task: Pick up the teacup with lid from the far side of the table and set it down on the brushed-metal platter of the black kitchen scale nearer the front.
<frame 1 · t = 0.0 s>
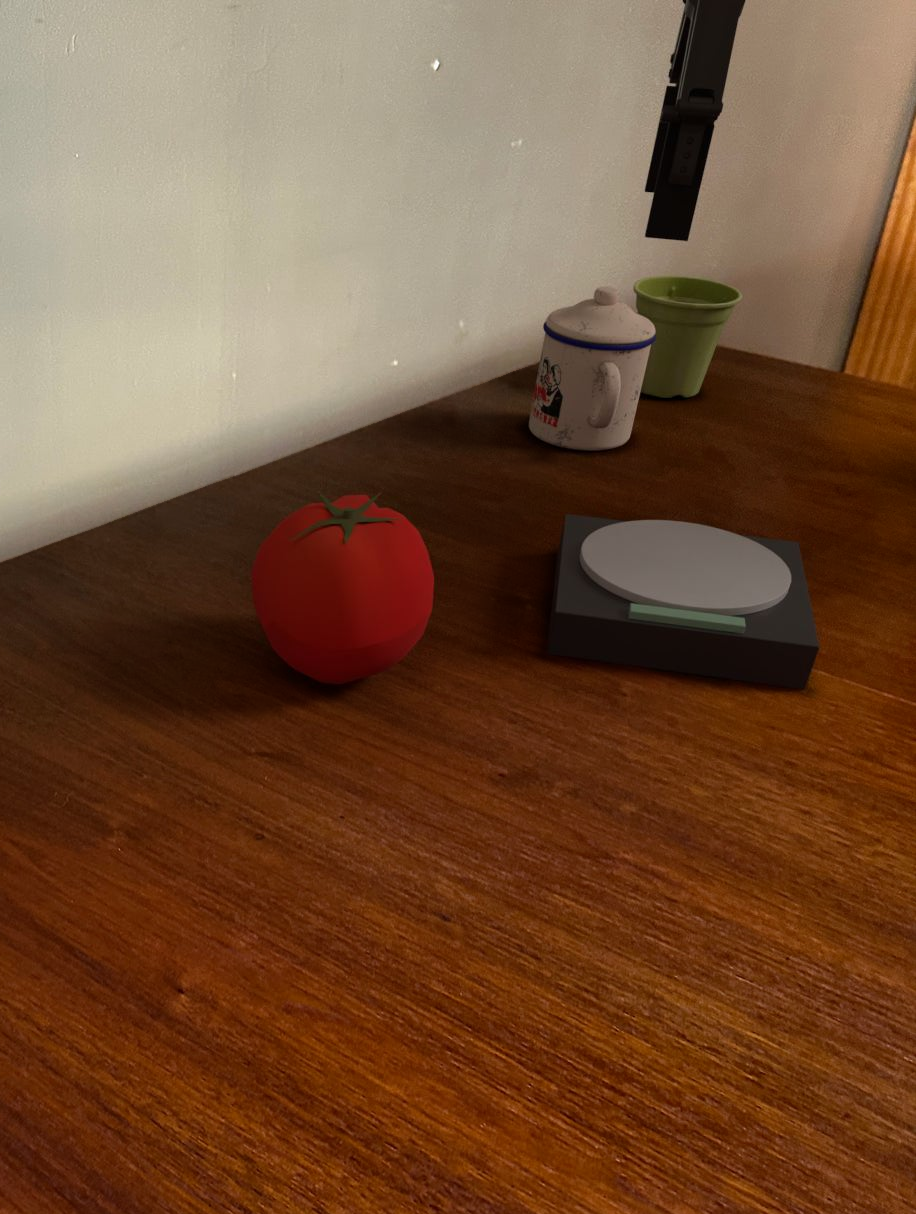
hand: (664, 214, 97), 20 cm above the table, tool pointing down, fingers open, 13 cm apart
scale: (671, 616, 96), on the table
teacup with lid: (581, 442, 121), on the table
tomato: (334, 664, 90), on the table
plant pot: (663, 391, 132), on the table
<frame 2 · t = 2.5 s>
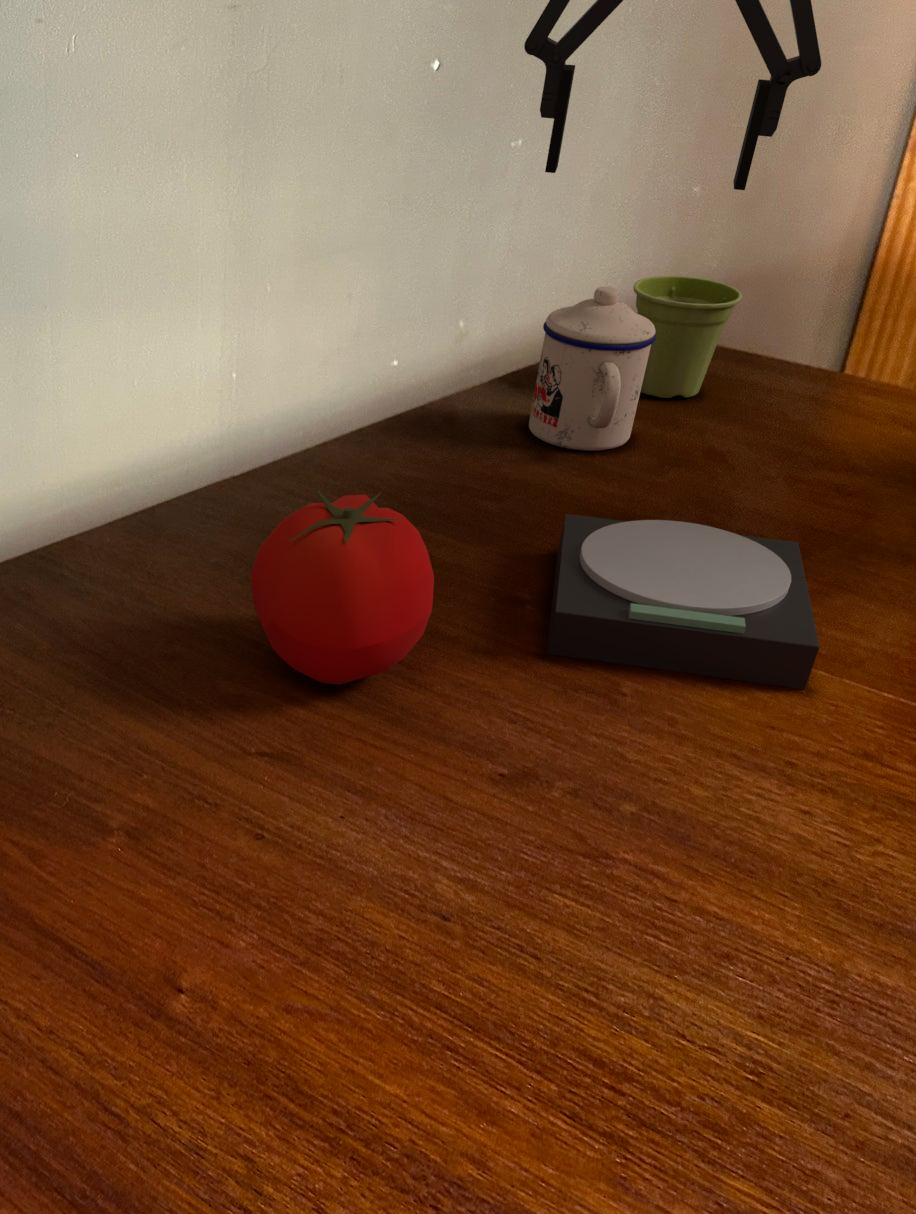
hand: (643, 178, 105), 21 cm above the table, tool pointing down, fingers open, 13 cm apart
nothing on the table moved.
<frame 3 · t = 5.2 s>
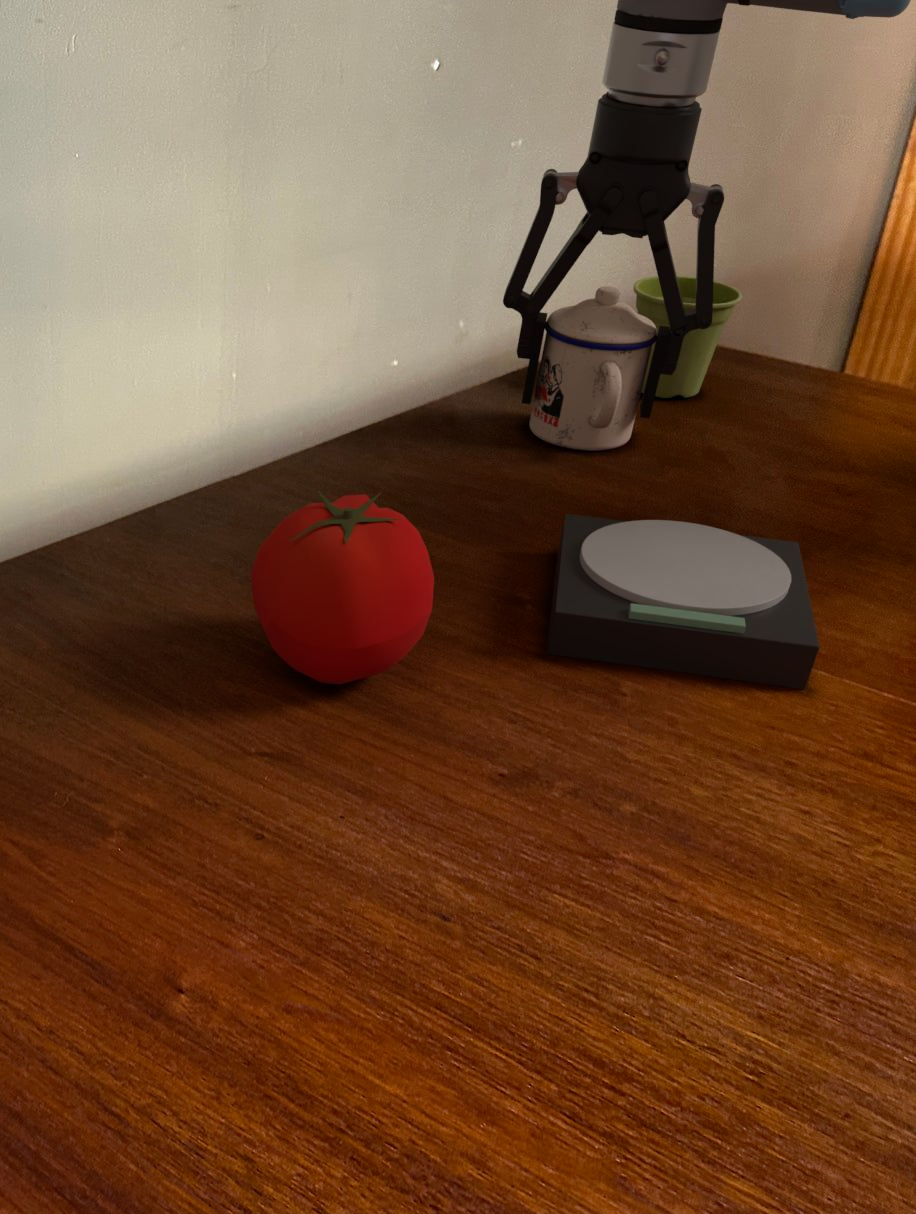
hand: (585, 405, 119), 3 cm above the table, tool pointing down, fingers closed on teacup with lid, 9 cm apart
teacup with lid: (582, 442, 121), on the table, touching gripper
everything else where it was.
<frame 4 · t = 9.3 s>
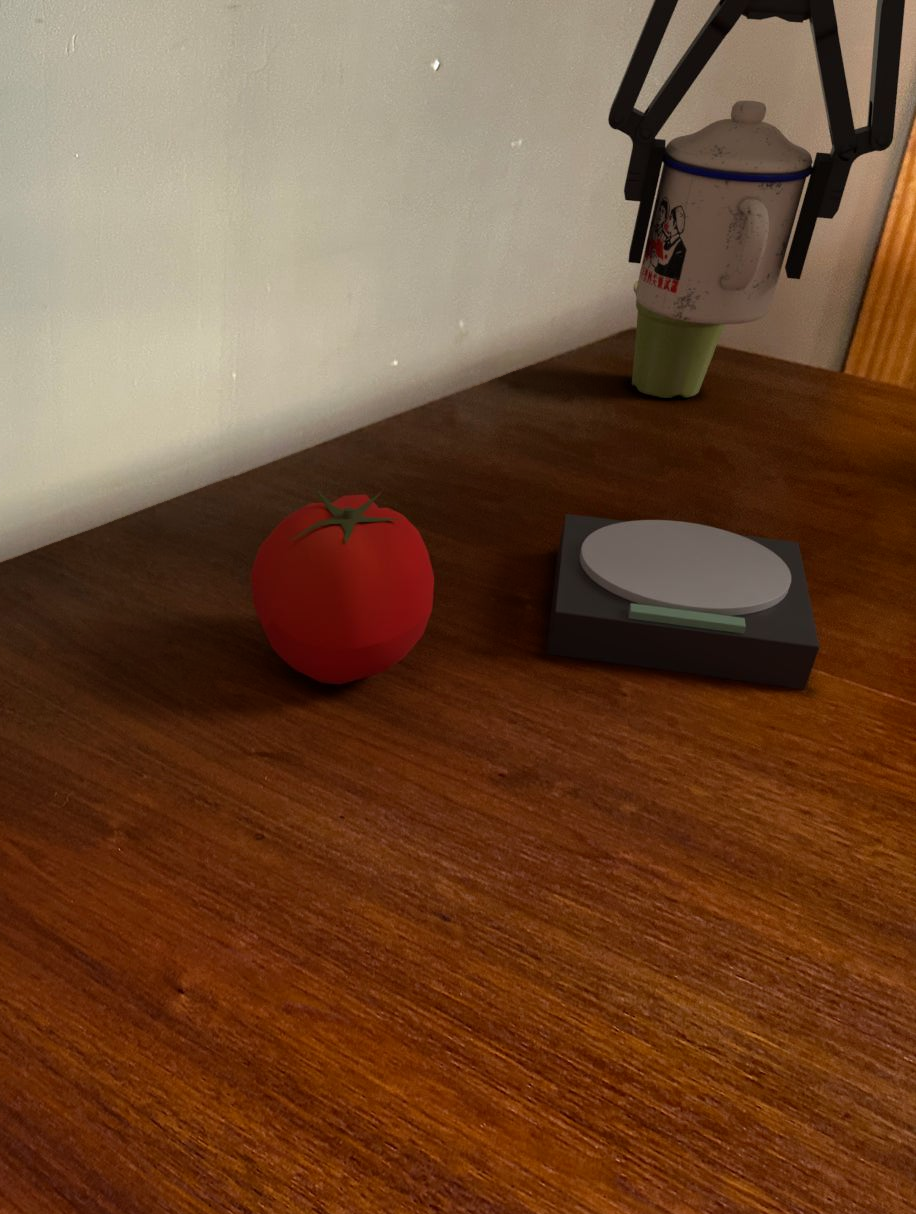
hand: (712, 265, 91), 20 cm above the table, tool pointing down, fingers closed on teacup with lid, 9 cm apart
teacup with lid: (705, 316, 93), point 17 cm above the table, touching gripper
everything else where it was.
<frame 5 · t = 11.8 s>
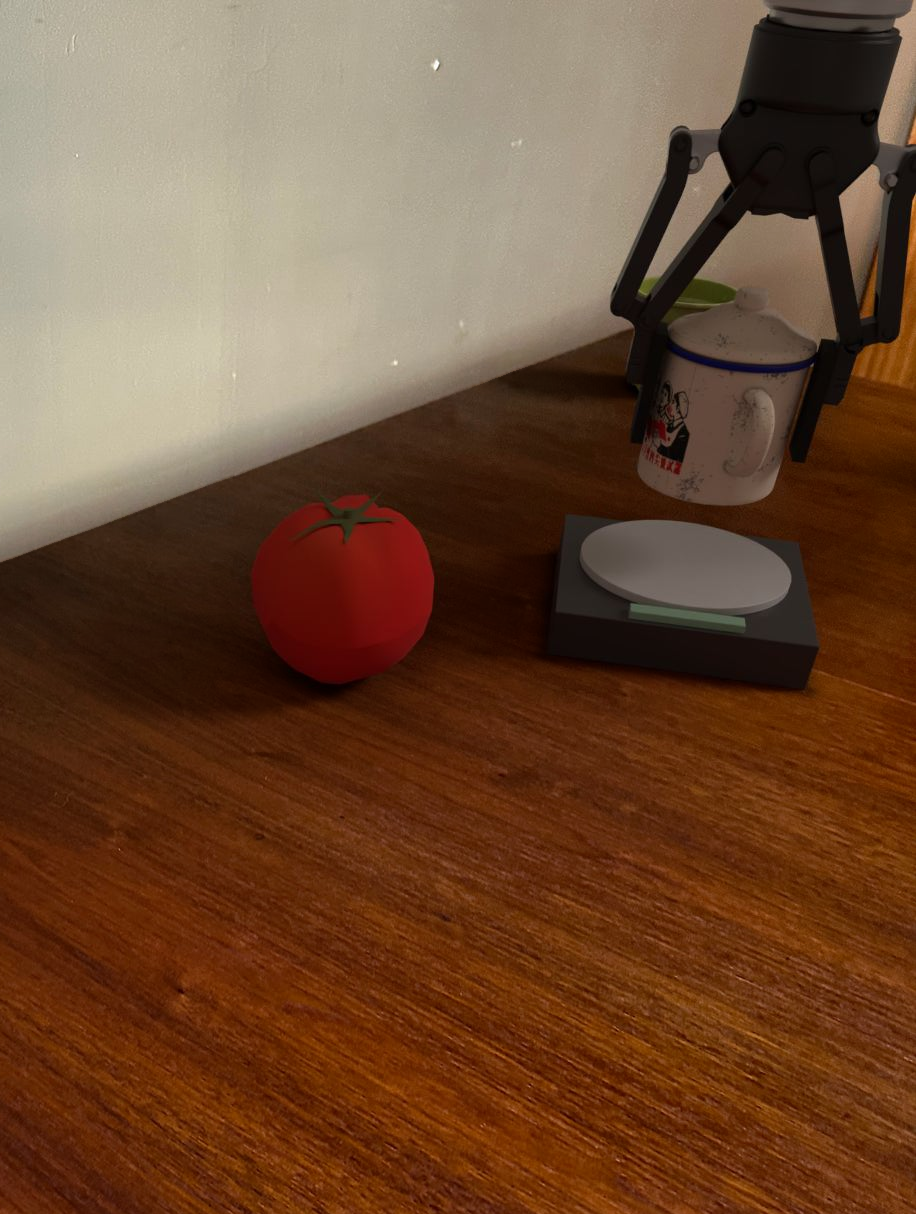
hand: (715, 445, 89), 11 cm above the table, tool pointing down, fingers closed on teacup with lid, 9 cm apart
teacup with lid: (708, 493, 91), point 8 cm above the table, touching gripper
everything else where it was.
when the fingers open (6 cm above the table, at t = 13.8 s): teacup with lid stays where it is, resting on scale.
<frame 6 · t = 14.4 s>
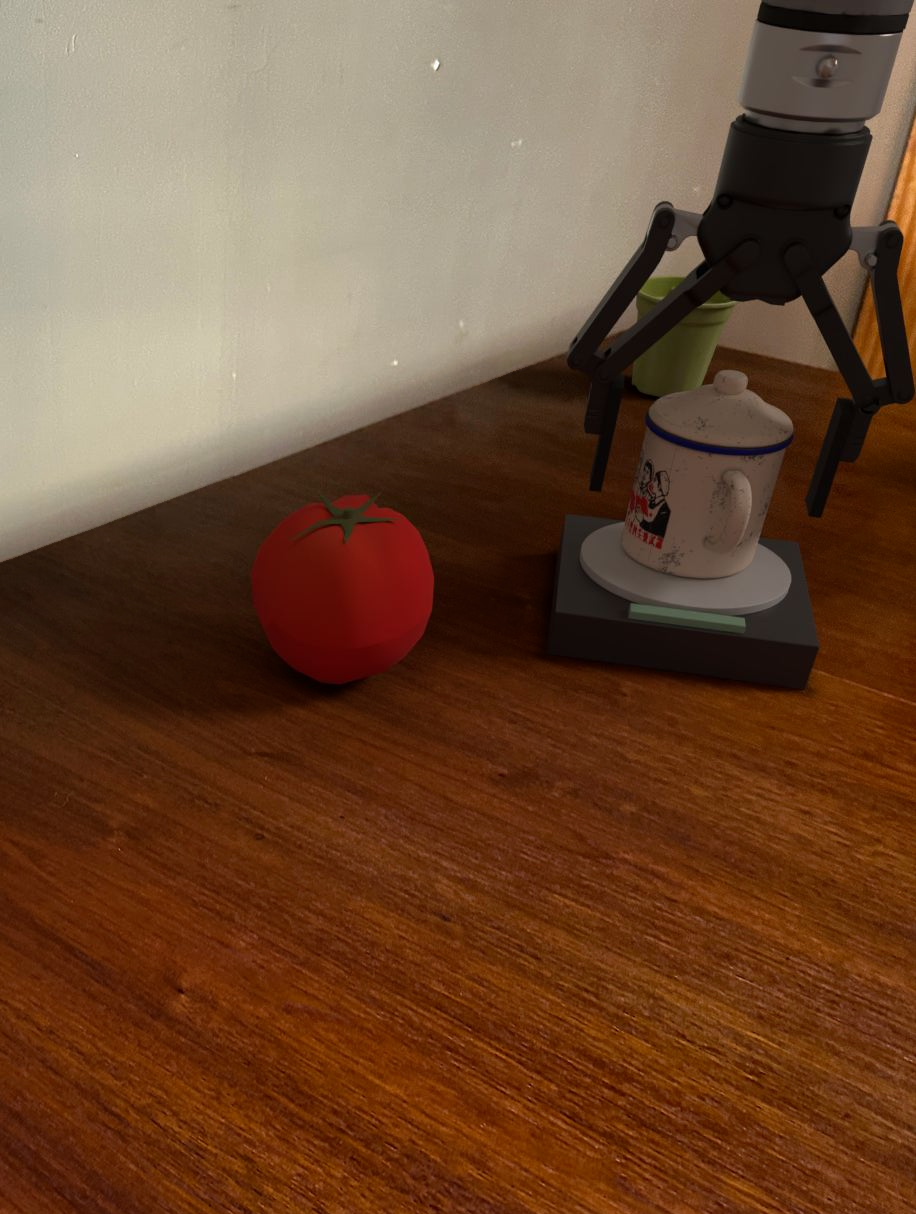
hand: (702, 497, 91), 8 cm above the table, tool pointing down, fingers open, 13 cm apart
teacup with lid: (690, 564, 94), point 3 cm above the table, touching scale
everything else where it was.
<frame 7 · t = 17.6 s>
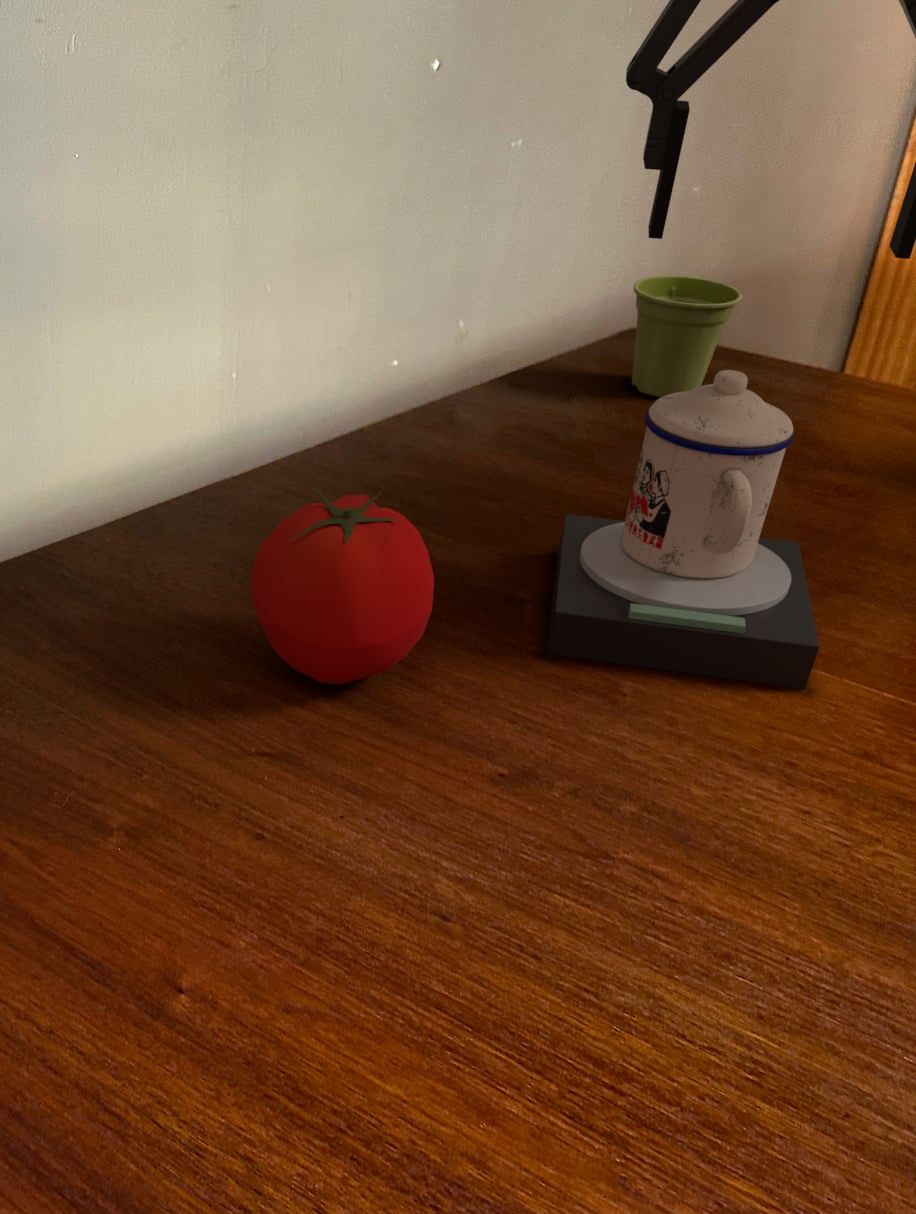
hand: (775, 243, 82), 23 cm above the table, tool pointing down, fingers open, 13 cm apart
nothing on the table moved.
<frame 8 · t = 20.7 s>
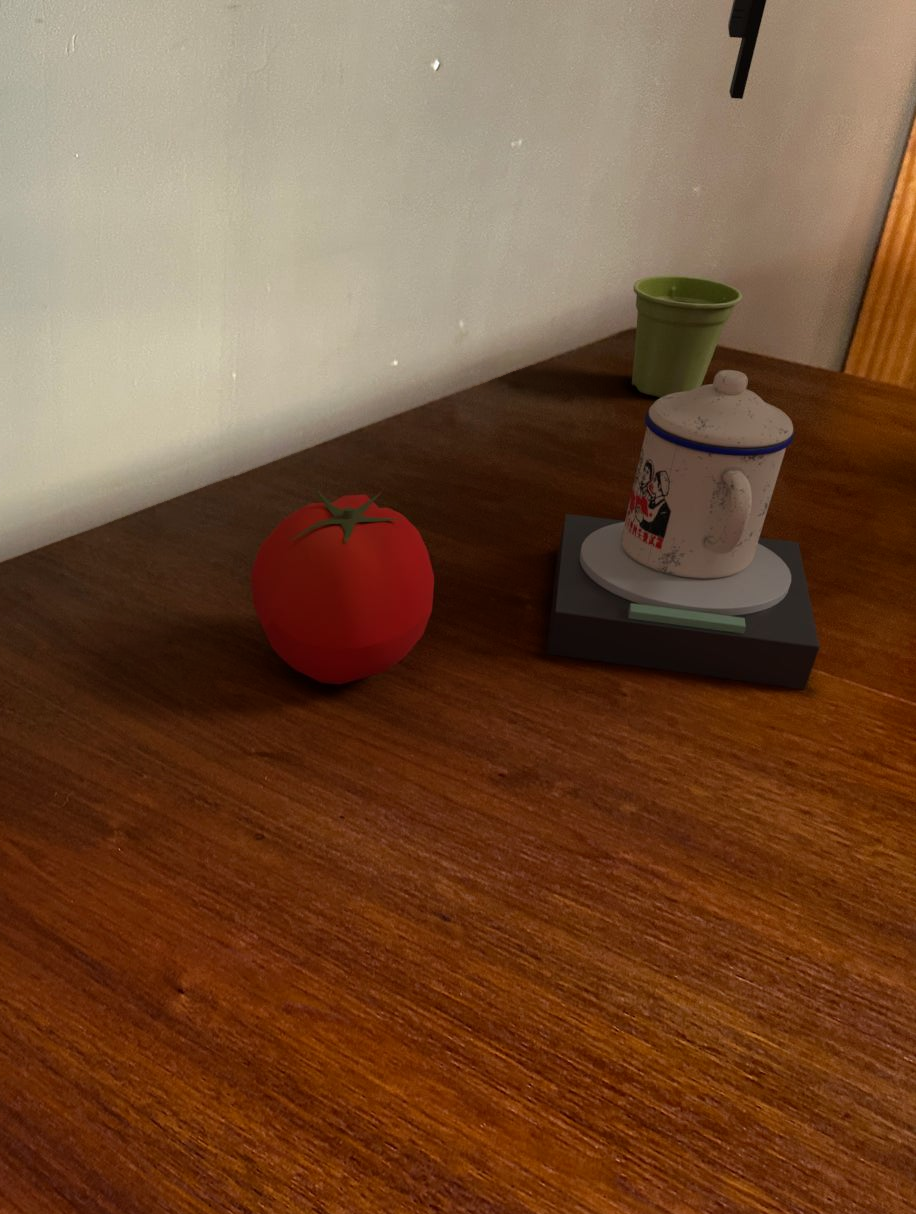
hand: (838, 103, 96), 27 cm above the table, tool pointing down, fingers open, 13 cm apart
nothing on the table moved.
at the end: teacup with lid inside the target area on the scale (0.6 cm from its centre), point 3.4 cm above the scale's base; teacup with lid tilted 0°; the gripper is holding nothing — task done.
